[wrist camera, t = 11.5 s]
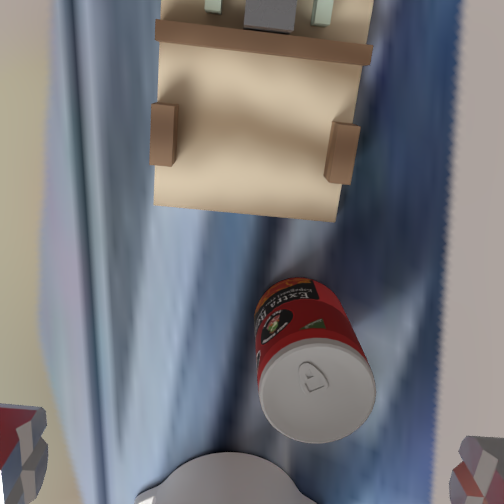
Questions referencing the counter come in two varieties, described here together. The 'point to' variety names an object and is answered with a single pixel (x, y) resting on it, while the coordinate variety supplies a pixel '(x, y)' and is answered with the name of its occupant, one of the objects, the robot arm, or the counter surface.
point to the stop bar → (270, 16)
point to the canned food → (310, 363)
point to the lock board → (257, 108)
